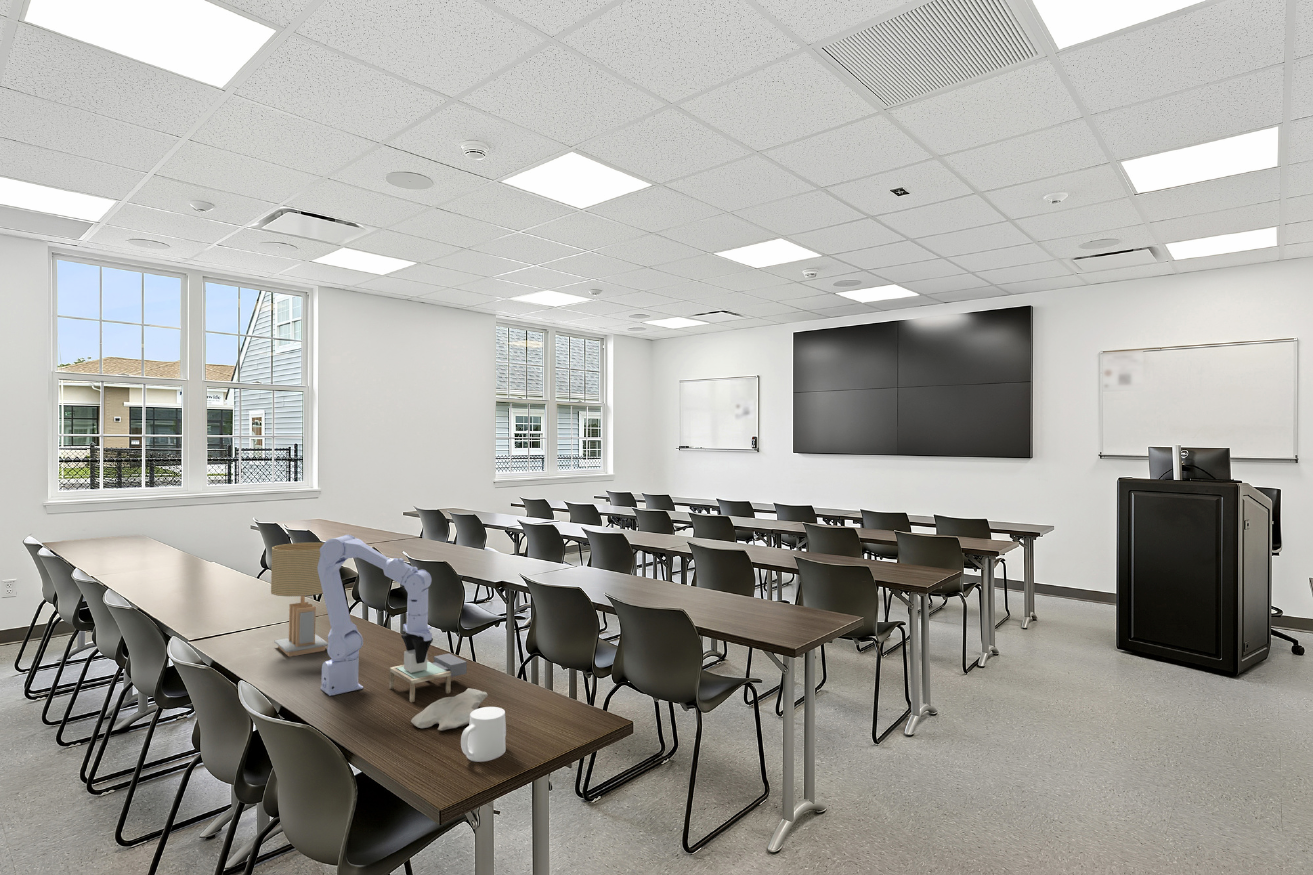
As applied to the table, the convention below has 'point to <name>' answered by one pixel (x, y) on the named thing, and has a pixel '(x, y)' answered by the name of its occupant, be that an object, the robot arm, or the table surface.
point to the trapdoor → (440, 667)
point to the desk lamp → (298, 594)
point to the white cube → (413, 662)
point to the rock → (450, 710)
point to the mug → (485, 734)
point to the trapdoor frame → (417, 680)
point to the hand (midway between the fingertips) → (416, 660)
